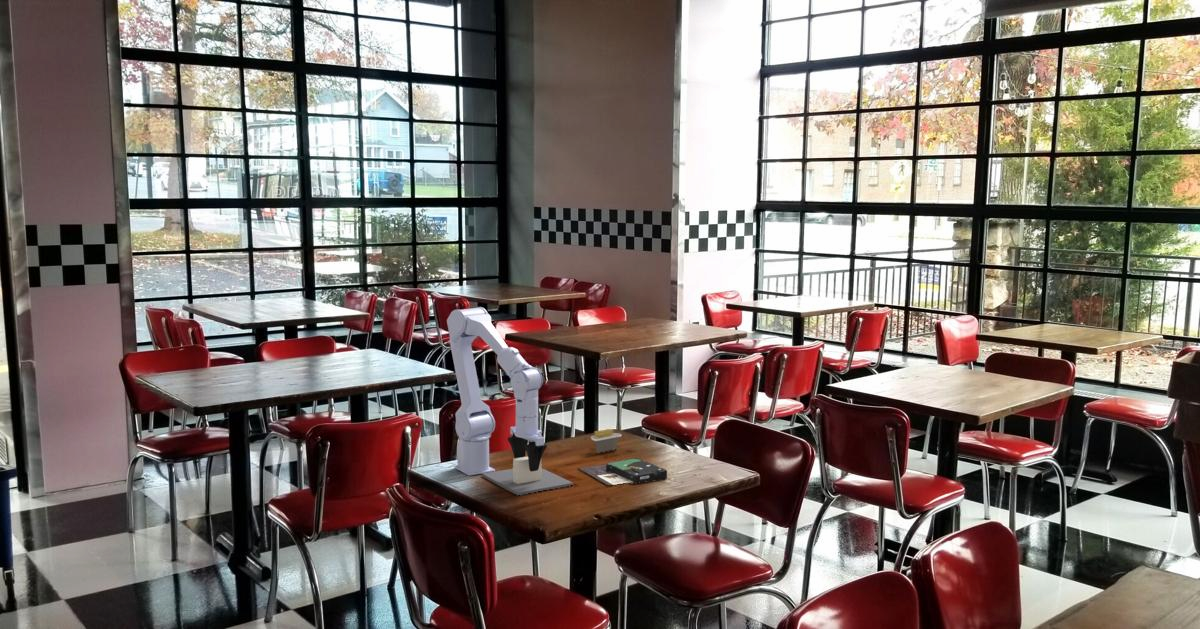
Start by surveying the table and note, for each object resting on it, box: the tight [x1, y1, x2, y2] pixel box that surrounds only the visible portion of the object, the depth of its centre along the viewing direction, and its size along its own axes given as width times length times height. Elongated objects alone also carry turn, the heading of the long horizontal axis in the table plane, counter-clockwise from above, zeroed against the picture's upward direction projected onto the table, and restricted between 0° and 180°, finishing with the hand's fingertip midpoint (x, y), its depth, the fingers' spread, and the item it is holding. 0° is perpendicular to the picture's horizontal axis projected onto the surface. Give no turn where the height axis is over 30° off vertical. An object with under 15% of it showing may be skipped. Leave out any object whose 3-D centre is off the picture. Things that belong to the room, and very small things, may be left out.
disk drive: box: [606, 457, 668, 484], centre depth 259 cm, size 10×3×15 cm
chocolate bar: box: [577, 463, 633, 487], centre depth 258 cm, size 9×1×18 cm
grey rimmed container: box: [590, 428, 622, 454], centre depth 283 cm, size 12×18×7 cm, turn 128°
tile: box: [512, 456, 542, 484], centre depth 250 cm, size 2×7×6 cm, turn 123°
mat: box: [482, 468, 574, 497], centre depth 253 cm, size 20×16×1 cm
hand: (526, 467), depth 250 cm, fingers open, 7 cm apart
